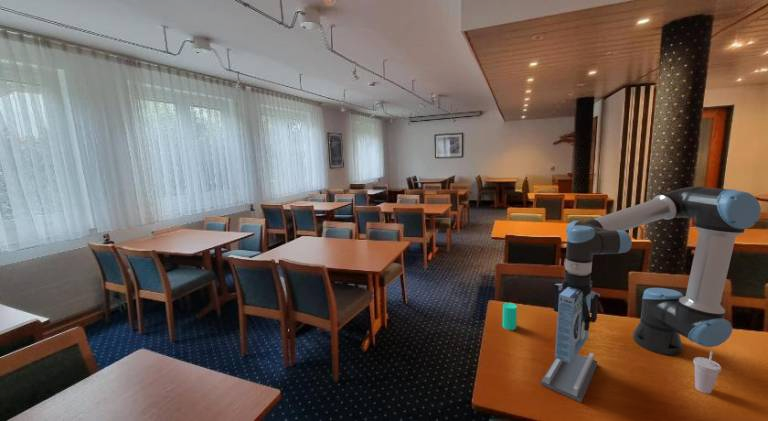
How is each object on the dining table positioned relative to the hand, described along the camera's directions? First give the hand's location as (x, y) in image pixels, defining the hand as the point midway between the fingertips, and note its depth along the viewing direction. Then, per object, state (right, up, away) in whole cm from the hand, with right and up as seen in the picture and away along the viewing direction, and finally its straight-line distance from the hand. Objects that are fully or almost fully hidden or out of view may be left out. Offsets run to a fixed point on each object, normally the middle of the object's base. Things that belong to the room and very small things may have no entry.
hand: (572, 334), depth 110 cm
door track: (+1, -16, +3) cm, 16 cm away
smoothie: (+39, -16, -6) cm, 43 cm away
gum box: (0, -5, +1) cm, 5 cm away
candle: (-8, -10, +35) cm, 37 cm away
